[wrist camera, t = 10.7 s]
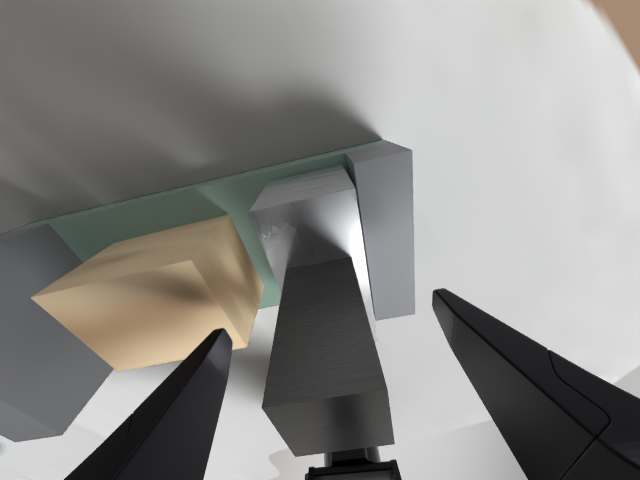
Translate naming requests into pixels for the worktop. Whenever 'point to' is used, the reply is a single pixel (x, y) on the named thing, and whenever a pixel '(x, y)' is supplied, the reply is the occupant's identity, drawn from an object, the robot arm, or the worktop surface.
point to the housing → (159, 294)
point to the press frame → (158, 215)
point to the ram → (321, 317)
